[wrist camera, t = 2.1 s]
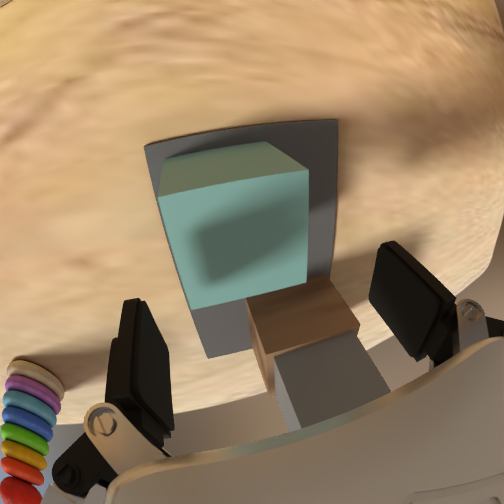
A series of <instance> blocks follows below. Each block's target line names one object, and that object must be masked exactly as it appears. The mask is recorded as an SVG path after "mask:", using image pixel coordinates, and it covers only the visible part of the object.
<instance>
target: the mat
mask: <svg viewBox="0 0 504 504" xmlns="http://www.w3.org/2000/svg"><path fill="white" fill-rule="evenodd" d="M262 141H266V142H268V143H269V144H271V145H272V146H274V147H275V148H277V149H278V150H280V151H282V152H283V153H285V154H286V155H288V156H289V157H291V158H292V159H294V160H295V161H297V162H298V163H299V164H301V165H302V166H304V167H305V168H307V169H308V170H309V219H308V257H307V278H311V277H315V276H318V275H322V274H326V276H327V277H328V279H330V270H331V261H332V250H333V239H334V227H335V213H336V196H337V174H338V120H309V121H293V122H281V123H270V124H261V125H252V126H244V127H237V128H230V129H223V130H217V131H211V132H205V133H200V134H194V135H189V136H184V137H179V138H175V139H170V140H166V141H161V142H157V143H153V144H149V145H145V146H144V150H145V155H146V159H147V164H148V168H149V172H150V177H151V181H152V185H153V189H154V193H155V197H156V201H157V205H158V208H159V212H160V216H161V220H162V223H163V227H164V230H165V234H166V237H167V241H168V244H169V248H170V251H171V254H172V258H173V261H174V264H175V267H176V270H177V274H178V277H179V280H180V283H181V286H182V289H183V292H184V295H185V298H186V301H187V304H188V307H189V309H190V312H191V315H192V318H193V321H194V323H195V326H196V329H197V332H198V334H199V337H200V340H201V342H202V345H203V348H204V350H205V353H206V355H207V358H208V359H209V358H214V357H218V356H223V355H227V354H231V353H236V352H240V351H244V350H248V349H252V348H253V347H252V342H251V335H250V329H249V322H248V316H247V309H246V303H245V298H243V299H238V300H234V301H230V302H226V303H221V304H217V305H212V306H208V307H203V308H199V309H194V310H191V308H190V305H189V302H188V299H187V296H186V293H185V290H184V287H183V284H182V281H181V278H180V275H179V272H178V268H177V265H176V262H175V259H174V255H173V252H172V248H171V245H170V242H169V238H168V235H167V231H166V227H165V224H164V220H163V216H162V213H161V209H160V205H159V201H158V191H159V185H160V179H161V173H162V168H163V162H164V159H167V158H171V157H176V156H180V155H185V154H190V153H195V152H200V151H205V150H211V149H216V148H222V147H228V146H234V145H241V144H248V143H255V142H262Z"/></svg>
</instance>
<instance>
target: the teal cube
mask: <svg viewBox="0 0 504 504" xmlns="http://www.w3.org/2000/svg"><path fill="white" fill-rule="evenodd" d="M158 201H159V205H160V209H161V213H162V216H163V220H164V224H165V227H166V231H167V235H168V238H169V242H170V245H171V248H172V252H173V255H174V259H175V262H176V265H177V268H178V272H179V275H180V278H181V281H182V284H183V287H184V290H185V293H186V296H187V299H188V302H189V305H190V308H191V310H194V309H199V308H203V307H208V306H212V305H217V304H221V303H226V302H230V301H234V300H238V299H243V298H247V297H251V296H255V295H259V294H263V293H267V292H271V291H275V290H279V289H283V288H287V287H291V286H295V285H299V284H302V283H306V280H307V257H308V219H309V170H308V169H307V168H305V167H304V166H302V165H301V164H299V163H298V162H297V161H295V160H294V159H292V158H291V157H289V156H288V155H286V154H285V153H283V152H282V151H280V150H278V149H277V148H275V147H274V146H272V145H271V144H269V143H268V142H266V141H262V142H255V143H248V144H241V145H234V146H228V147H222V148H216V149H211V150H205V151H200V152H195V153H190V154H185V155H180V156H176V157H171V158H167V159H164V162H163V168H162V173H161V179H160V185H159V191H158Z"/></svg>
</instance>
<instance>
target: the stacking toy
mask: <svg viewBox="0 0 504 504" xmlns="http://www.w3.org/2000/svg"><path fill="white" fill-rule="evenodd" d="M7 375H8V379H7V381H6V383H5V388H6V391H7V392H6V393H5V394H4V396H3V404H4V406H5V409H4V410H3V412H2V418H3V421H4V423H5V424H3V425H2V427H1V434H2V437H3V438H4V439H5V441H3V442H2V444H1V449H2V451H3V453H4V454H5V455H6V456H7V457H4V458H2V460H1V466H2V468H3V470H4V471H5V472H6V473H8V474H9V475H11V476H13V477H6V478H5V479H4V480H3V481H2V482H1V484H0V494H1V498H2V500H3V502H4V503H5V504H40V503H41V501H42V499H43V498H42V496H41V494H40V493H39V491H38V490H37V489H36V488H35V487H34V486H33V485H38V486H40V485H42V484H43V483H44V477H43V475H42V473H41V472H40V471H39V470H44V469H45V468H46V467H47V462H46V460H45V458H44V457H43V456H46V455H47V454H48V452H49V446H48V443H47V442H49V441H51V439H52V437H53V431H52V429H51V428H53V427H54V426H55V425H56V421H57V419H56V415H57V414H58V413H59V412H60V410H61V403H60V401H61V400H62V399H63V397H64V388H63V386H62V384H61V383H60V381H59V380H58V379H57V378H56V377H55V376H54V375H53V374H51V373H50V372H49V371H47V370H46V369H44V368H42V367H40V366H38V365H36V364H34V363H31V362H27V361H22V360H17V361H13V362H11V363H10V364H9V366H8V368H7ZM32 484H33V485H32Z"/></svg>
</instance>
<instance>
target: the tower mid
mask: <svg viewBox="0 0 504 504" xmlns="http://www.w3.org/2000/svg"><path fill="white" fill-rule="evenodd" d="M273 358H274V377H275V394H276V397H277V400H278V402H279V405H280V408H281V411H282V413H283V416H284V419H285V422H286V424H287V427H288V430H289V432H292V431H295V430H298V429H301V428H304V427H308V426H311V425H313V424H316V423H319V422H322V421H325V420H328V419H330V418H333V417H336V416H338V415H341V414H343V413H346V412H348V411H351V410H353V409H355V408H358V407H360V406H362V405H365V404H367V403H369V402H371V401H373V400H376V399H378V398H380V397H382V396H384V395H386V394H388V393H390V392H391V390H390V389H389V387H388V385H387V384H386V382H385V380H384V379H383V377H382V376H381V374H380V372H379V371H378V369H377V367H376V366H375V364H374V363H373V361H372V359H371V358H370V356H369V355H368V353H367V351H366V350H365V348H364V347H363V345H362V344H361V342H360V340H359V339H358V337H357V336H356V334H355V333H354V331H351V332H349V333H346V334H343V335H340V336H338V337H335V338H332V339H329V340H326V341H323V342H320V343H317V344H314V345H311V346H308V347H305V348H301V349H298V350H295V351H292V352H288V353H285V354H281V355H278V356H274V357H273Z"/></svg>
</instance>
